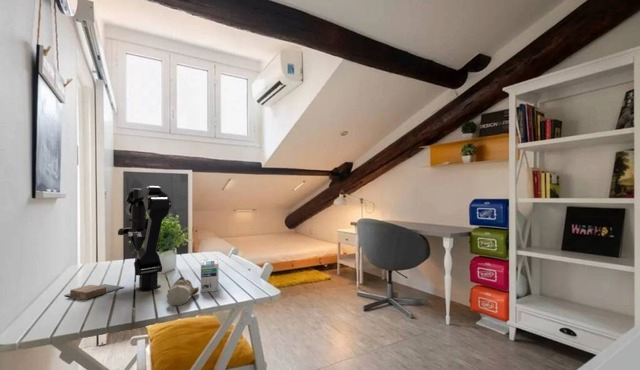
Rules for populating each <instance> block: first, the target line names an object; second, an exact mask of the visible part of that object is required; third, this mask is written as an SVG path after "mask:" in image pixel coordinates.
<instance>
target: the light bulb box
mask: <svg viewBox="0 0 640 370" xmlns="http://www.w3.org/2000/svg"><path fill="white" fill-rule="evenodd" d="M216 291H219V262H218V258H213V259H201V260H200V293H207V292H216Z"/></svg>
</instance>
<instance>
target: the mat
mask: <svg viewBox="0 0 640 370" xmlns="http://www.w3.org/2000/svg"><path fill="white" fill-rule="evenodd" d="M98 286H103V287H106V293H104V294H100V295H97V296H94V297H91V298H95V297H98V296H101V295H105V294H107V293H112V292H114V291H115V292H116V291H118V290H121V289H124V286H121V285H114V284H107V283H103V284H98ZM67 296H70V293H66V294H64V297H67ZM69 298H73V296H70V297H69ZM78 298H79V297H75V298H74V299H78ZM91 298H90V299H91ZM80 299H81V300H84V298H80ZM86 300H88V298H87V299H86Z"/></svg>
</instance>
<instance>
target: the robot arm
mask: <svg viewBox="0 0 640 370" xmlns="http://www.w3.org/2000/svg"><path fill="white" fill-rule="evenodd" d="M126 195H127V196H126V198H125V202H126V204H128V205H126V207H125V212H126V214H127V215H129V216H131V218H128V222H130V223H131V224H130V227H124V228H123V227H122V228H119V229H118V230H117V236H124V235H127V236H126V238H127V239H128V240H129V241H130V242H131V245H132V246H133V248H134V250H135V251H136V252H137V255H136V258H135V259H134V262H133V266H134V275H135V276H138V277H139V278H138V279H139V280H138V287H135V290H137V291H143V292H144V291H145V292H149V291H151V290H155V289H159V288H160V287H161V284H160V285H159V283H158V280H159V278H158V276H159V275H158V274H159V273H162V272H163V265H162V261H161V258H160V255H159V253H158V251H157V248H158V243H159V238H160V234H161V229H162V228H161V227H162V223H163V220H164V219H165V218H166V217H168V215H169V213H170V210H171V208H172V201H171V199H170V196H169V194H167V193H166V192H165V191H163V190H162V188H161V186H158V185H156V186H155V185H148V186H146V187H143V188H134V187H133V188H130V190H129V191H128V193H127V194H126ZM147 215H148V217H147Z"/></svg>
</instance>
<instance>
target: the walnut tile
mask: <svg viewBox="0 0 640 370" xmlns="http://www.w3.org/2000/svg"><path fill="white" fill-rule="evenodd" d="M104 293H105V294H107V293H106V287H103V286H99V285H95V284H87V285H83V286H81V287H77V288H73V289H70V293H69V294H70V296H73V297H79V298H84V299H85V300H88V299H87V298H89V299H91V297H92V298H95V297H98V296H101V295H100V294H102V295H105V294H104ZM97 295H98V296H97ZM94 296H95V297H94ZM73 297H72V298H73ZM84 299H83V300H84Z"/></svg>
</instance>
